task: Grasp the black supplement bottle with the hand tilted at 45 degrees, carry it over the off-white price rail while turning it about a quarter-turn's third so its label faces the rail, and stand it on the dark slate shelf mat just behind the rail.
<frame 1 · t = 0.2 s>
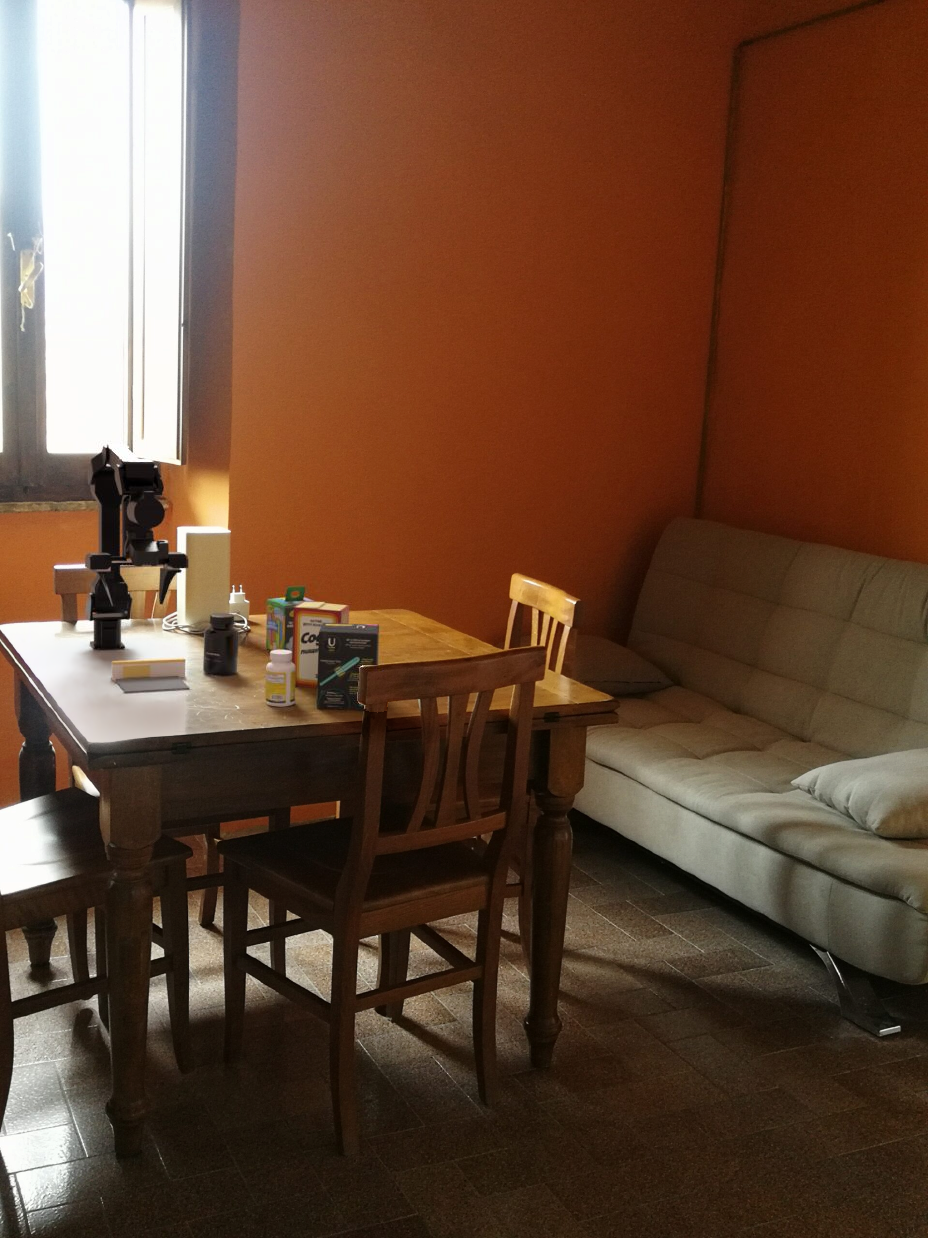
hand: (137, 605, 230), 14 cm above the table, fingers open, 9 cm apart
chalk box: (292, 652, 263), on the table
supplement bottle: (220, 673, 239), on the table
shelf mat: (152, 684, 226), on the table
supplement bottle 2: (280, 704, 218), on the table
baking soda box: (319, 684, 235), on the table
price rail: (148, 677, 232), on the table
tampon box: (346, 704, 221), on the table
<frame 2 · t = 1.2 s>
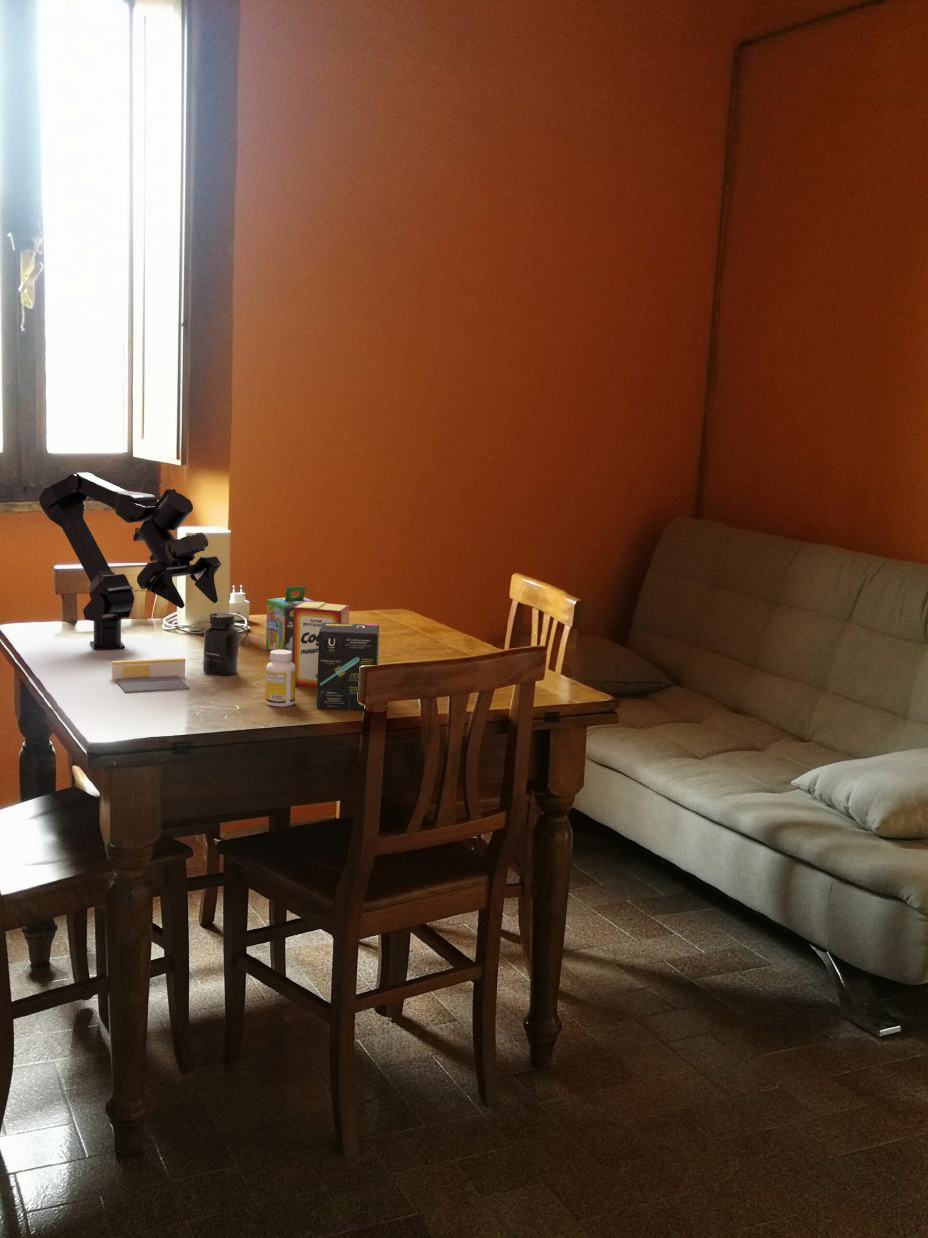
hand: (199, 604, 240), 13 cm above the table, fingers open, 9 cm apart
nothing on the table moved.
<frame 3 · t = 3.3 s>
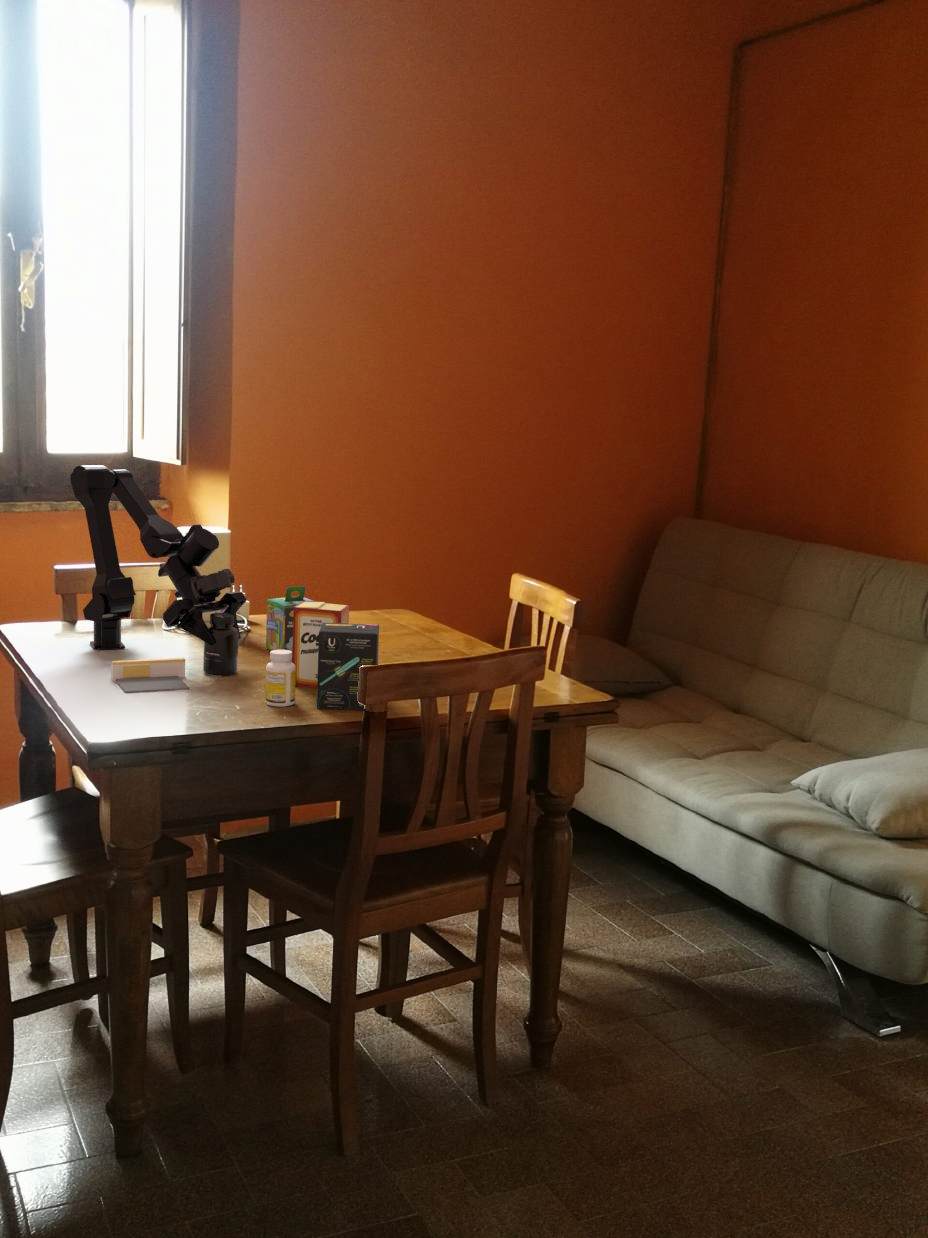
hand: (226, 641, 237), 7 cm above the table, fingers closed on supplement bottle, 7 cm apart
supplement bottle: (220, 673, 239), on the table, touching gripper
everything else where it was.
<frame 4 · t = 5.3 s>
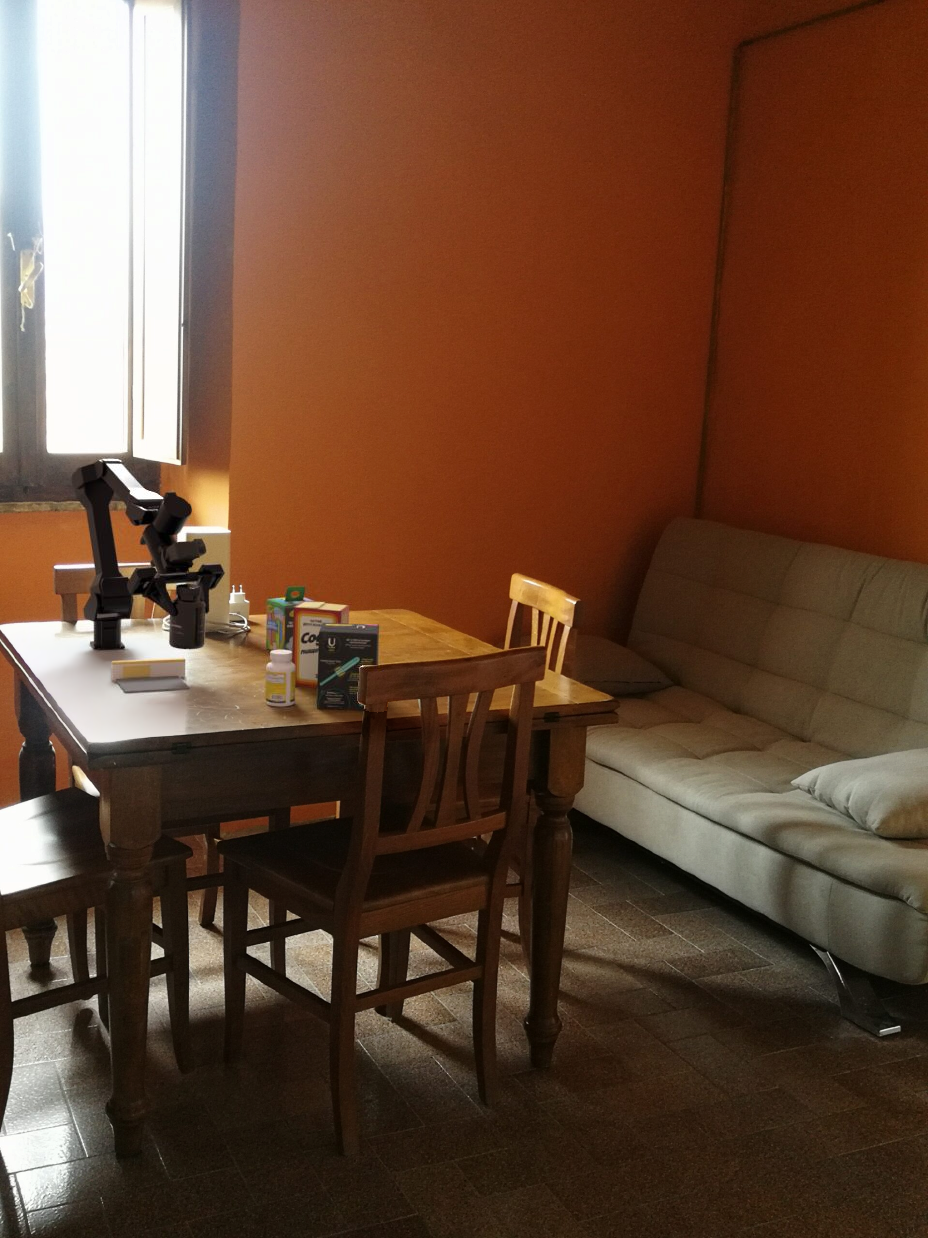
hand: (191, 613, 229), 13 cm above the table, fingers closed on supplement bottle, 7 cm apart
supplement bottle: (187, 647, 231), point 6 cm above the table, touching gripper
everything else where it was.
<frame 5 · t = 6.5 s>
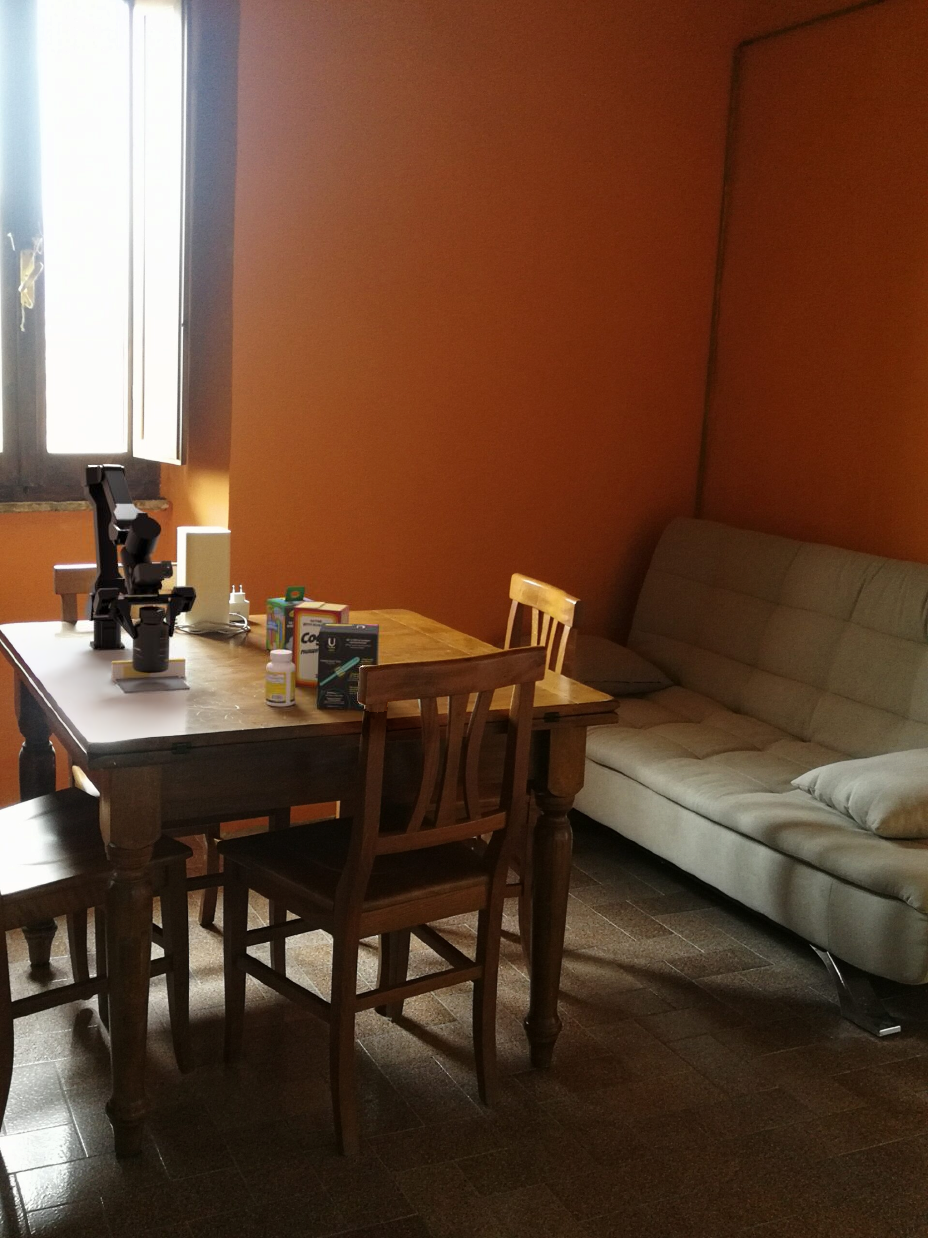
hand: (153, 637, 225), 9 cm above the table, fingers closed on supplement bottle, 7 cm apart
supplement bottle: (150, 670, 227), point 3 cm above the table, touching gripper
everything else where it was.
when the fingers open (7 cm above the table, at t = 7.4 s): supplement bottle stays where it is, resting on shelf mat.
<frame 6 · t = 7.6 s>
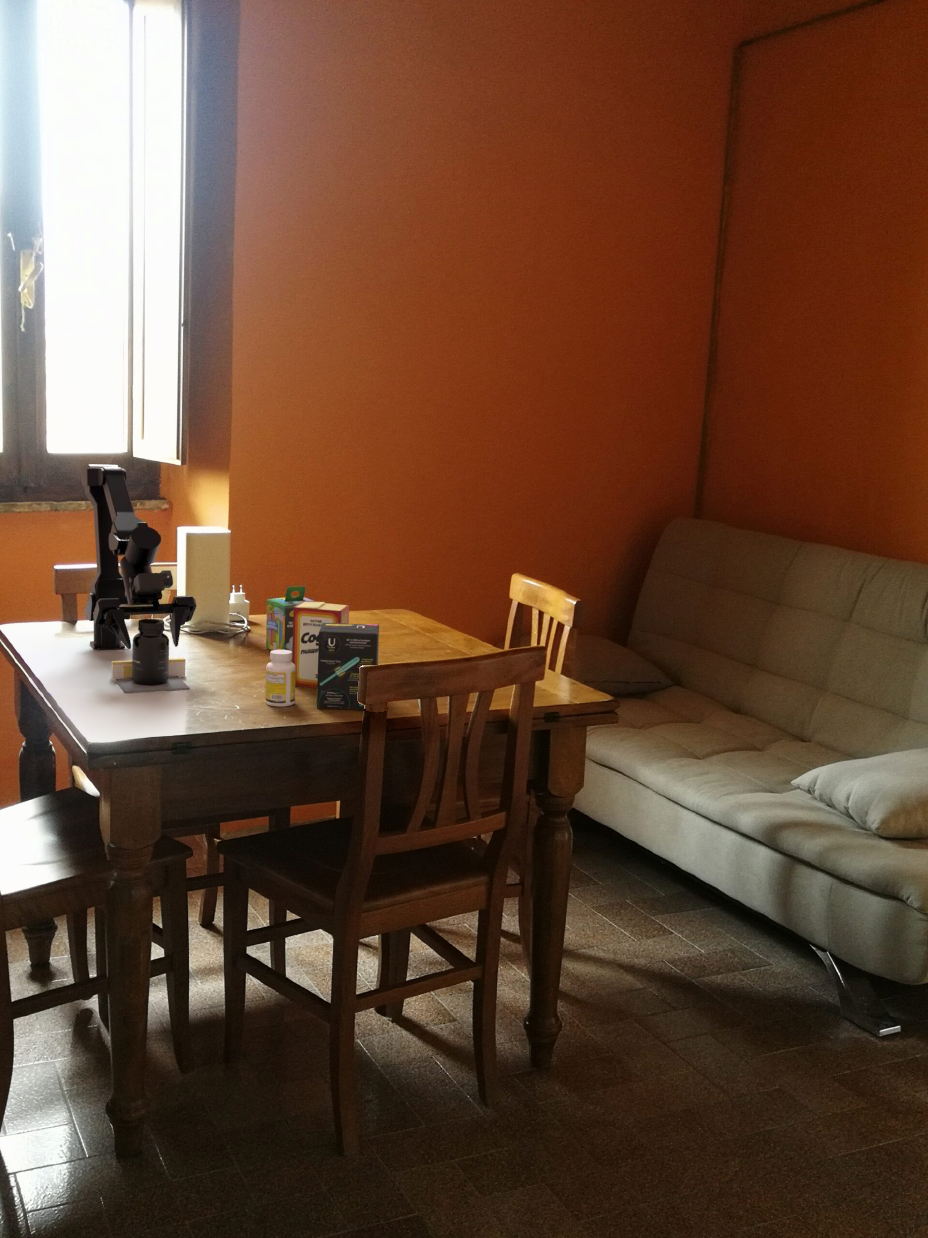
hand: (153, 646, 225), 8 cm above the table, fingers open, 9 cm apart
supplement bottle: (150, 682, 227), resting on shelf mat
everything else where it was.
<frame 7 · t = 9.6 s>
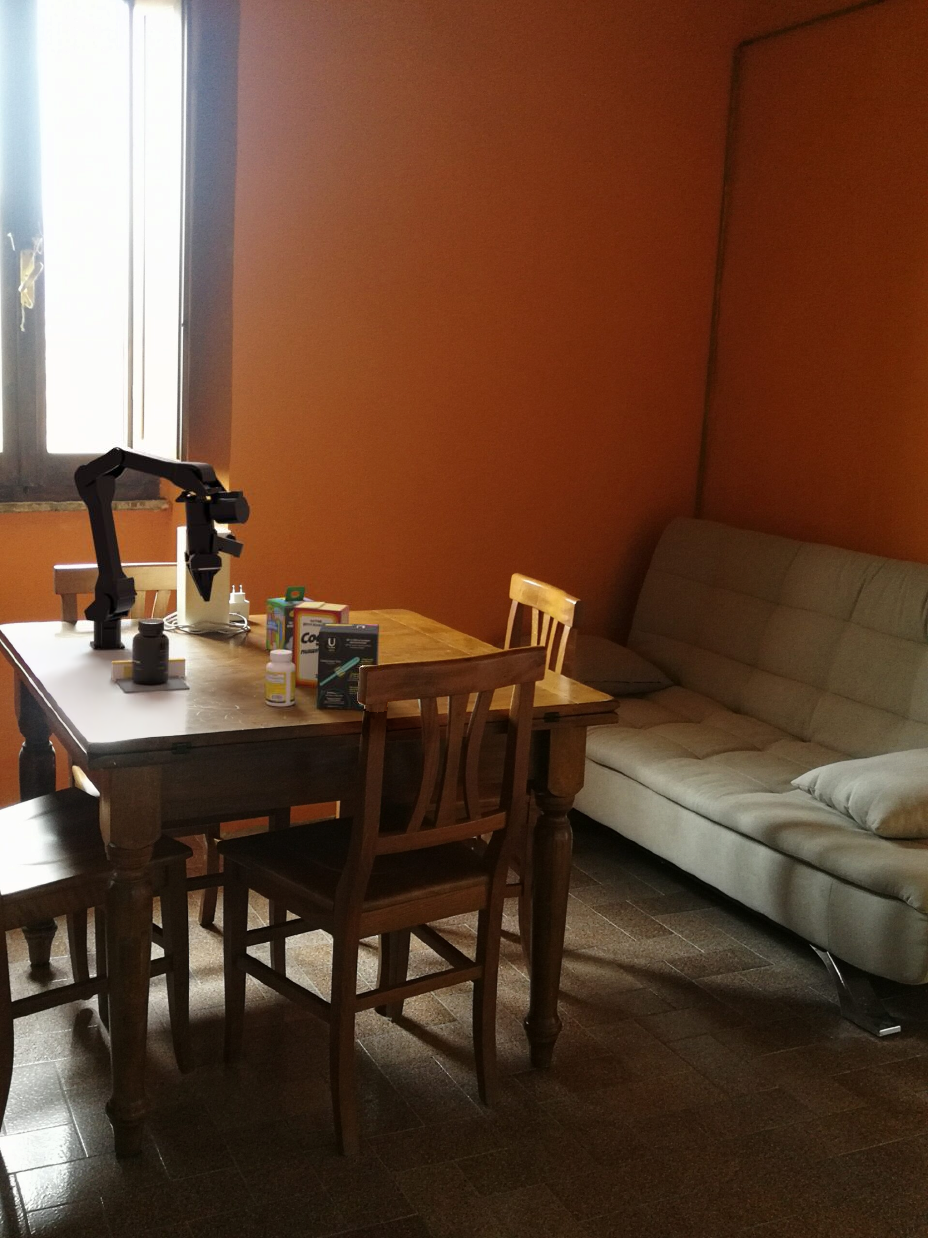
hand: (205, 598, 247), 13 cm above the table, fingers open, 9 cm apart
nothing on the table moved.
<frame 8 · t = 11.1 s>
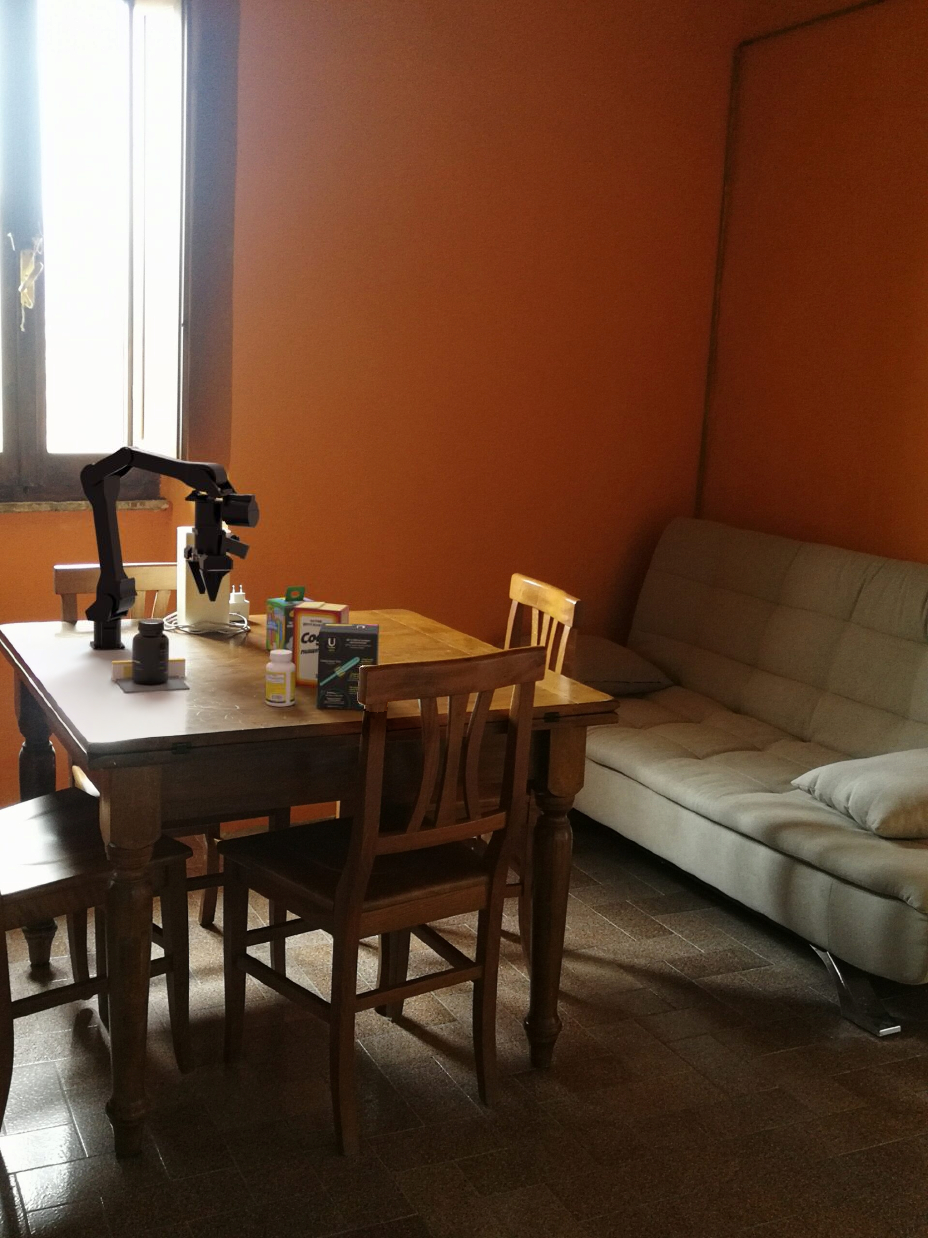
hand: (207, 597, 249), 13 cm above the table, fingers open, 9 cm apart
nothing on the table moved.
at the end: supplement bottle inside the target area (0.7 cm from its centre), resting on shelf mat; supplement bottle tilted 0°; the gripper is holding nothing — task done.
